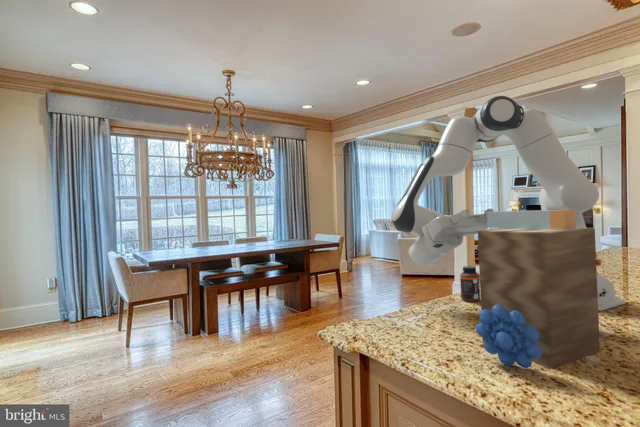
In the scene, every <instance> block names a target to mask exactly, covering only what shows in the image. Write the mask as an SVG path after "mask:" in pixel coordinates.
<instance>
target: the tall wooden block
mask: <svg viewBox="0 0 640 427" xmlns="http://www.w3.org/2000/svg"><path fill="white" fill-rule="evenodd" d="M477 239H478V240H477V241H478V242H477V244H478V245H477V246H478V267H479V268H478V269H479V285H480V309H481V310H484V309H486V310H489V311H491V312H492V307H493V306H494V305H497V304H498V305H501V306H504V307H505V308H506V309H507V311H508V314H509V313H510V312H511V311H514V310H516V311H519V312H521V313H522V314H523V315H524V316H525V318H526V324H525V325H530V326H533V327H534V328H535V329H536V330H537V331H538V332H539V336H540V338H539V340H538V341H536V342H534V343H536V344H537V345H538V346H539V347H540V348H541V351H542V355H541V357H540V358H536V359H534V358H531V357H530V358H531V361H532V363H536V364H539V365H540V366H541V365H542V366H544V367H547V368H549V369H556V368H558V367H562V366H564V365H567V364H569V363H573V362H575V361H577V360H578V361H579V360H580V359H583V358H587V357H589V356H591V355H594V354H597V353H599V352H601V348H600V347H601V344H600V343H601V342H600V341H601V340H600V339H601V338H600V339H599V331H600V324H599V323H600V317H599V316H600V315H599V311H598V293H597V272H598V271H597V270H598V269H597V265H596V259H597V253H596V250H597V249H596V229H595V228H593V227H586V228H572V229H531V228H491V229H485V230H480V231H478V234H477ZM481 310H480V311H481ZM481 322H482V321H481ZM482 323H483V322H482ZM484 339H486V338H483V337H482V342H483V341H484Z"/></svg>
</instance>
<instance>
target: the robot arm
mask: <svg viewBox="0 0 640 427" xmlns="http://www.w3.org/2000/svg"><path fill="white" fill-rule="evenodd" d="M502 135H503V136H506V137H507V138H509V139H510V141H512V143H513V145H514V146H515V149H516V150H517V152H518V154H519V156H520V158H521V160H522V161H523V163H524V165H525V167H526V169H527V170H528V173H529V174H531V175H532V176H533V177H534V178H535V180H536V181H537V183H539V185H540V186H541V187H542V188H541V190H539V191H540V192H539V194H538V202H539V204H540V209H541V210H575V217H576V228H587V226H586V223H585V219H584V216H583V213H584V212H587V211H588V210H591V209H593V208H594V206H596V204H597V203H598V201H599V197H600V192H599V188H598V187H597V185H596V184H595V183H594V182H592V180H590V179H588V178H587V177H586V175H585V174H584V173H583V172H582V170H580V168H579V167H578V166H577V165H576V164H575V163H574V161H573V160H572V159H571V158H570V157H569V155H568V154H567V152H566V151H565V149H564V146H562V144H561V142H560V139H559V138H558V137H557V135H556V133H555V131H554V130H553V128H552V126H551V125H550V124H549V123H548V120H546V119H545V117H544V116H543V115H542V114H541V113H540V112H539V111H538V110H537V109H535V108H532V107H531V108H524V107H523V106H522V105H520V104H518V103H517V102H516V101H515V100H514V99H512V98H511V97H509V96H507V95H506V96H505V95H497V96H494V97H491V98H489V99H488V100H486V101H485V103H483V105H481V107H480V108H479V109H478V110H477V111H476V113H475V115H473V116H472V117H467V116H463V115H462V116H461V115H459V116H456V117H453V118H451V120H450V121H448V123H447V124H446V127H445V129H444V131H443V133H442V135H441V137H440V140H439V143H438V145H437V148H436V150H435V152H433V154H432V155H431V156H427V157H425V158H424V159H423V160H422V162H421V163H419V164H420V165H419V166H418V168H417V170H416V171H415V173H414V175H413V176H412V178H411V180H410V182H409V184H408V186H407V187H406V190H405V191H404V193H403V195H402V197H401V198H400V200H399V201H398V203H397V205H396V206H395V207H394V209H393V211H392V212H391V213H392V214H391V222H392V224H393V226H394V228H395V229H396V231H398V232H401V233H402V232H403V233H405V234H406V233H407V234H411V235H415V236H417V237H416V240H415V242H414V243H413V244H412V245H411V246H410V247H409V248H408V256H409V257H410V259H411V260H412V261H413V262H414V263H415V264H418V265H420V266H428V265H430V264H433V263H435V262H436V261H438V260H439V259H440V260H441V258H442V257H443V256H444V255H445V254H448V253H451V251H453V250H455V249H456V248H457V247H460V245H462V244H463V241H464V237H468V236H469V237H471V236H476V235H478V231H480V230H488V228H487V212H495V210H494V209H493V208H487V209H485V210H483V212H484V213H478V214H471V212H470V211H469V209H462V210H460V212H457V213H454V214H453V215H445V214H444V213H441V212H439V211H436V210H434V209H430V208H427V207H425V206H421V205H419V204H418V203H419V200H420V198H421V195H422V194H423V192H424V190H425V189H426V186H427V184H428V183H429V182H430V180H432V179H434V178H436V177H452V176H455V175H456V176H457V175H460V174H461V173H462V172H464V171H465V170H466V168H467V167H468V165H469V163H470V161H471V158H472V155H473V151H474V148H475V146H476V143H489V142H493V141H495V140H496V139H498V138H500V137H501V136H502ZM602 264H603V261H602V260H601V259H599V258H598V259H597V258H596V267H597V266H598V267H601V266H602ZM597 293H598V312H599V311H600V312H601V311H605V310H609V309H611V308H614V307H617V306H622V305H625V304H626V302H627V301H626V300H625V299H624V298H621V297H618V296H616V289H615V286H614V283H613V282H612V281H610V280H609V279H607V278H606V277H605V276H603V275H602V274H601V273H599V272H598V271H597Z"/></svg>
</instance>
